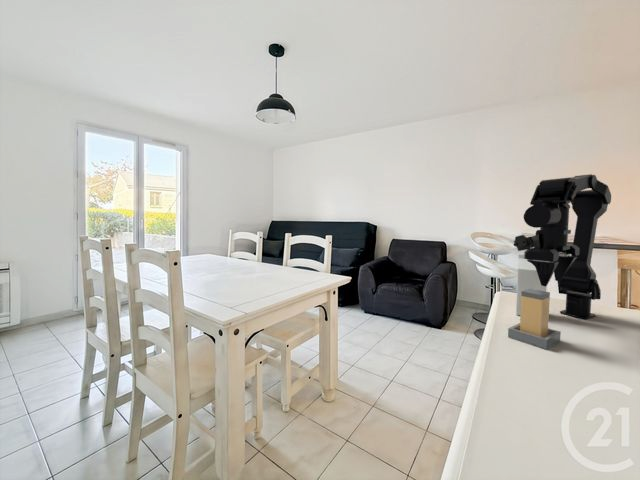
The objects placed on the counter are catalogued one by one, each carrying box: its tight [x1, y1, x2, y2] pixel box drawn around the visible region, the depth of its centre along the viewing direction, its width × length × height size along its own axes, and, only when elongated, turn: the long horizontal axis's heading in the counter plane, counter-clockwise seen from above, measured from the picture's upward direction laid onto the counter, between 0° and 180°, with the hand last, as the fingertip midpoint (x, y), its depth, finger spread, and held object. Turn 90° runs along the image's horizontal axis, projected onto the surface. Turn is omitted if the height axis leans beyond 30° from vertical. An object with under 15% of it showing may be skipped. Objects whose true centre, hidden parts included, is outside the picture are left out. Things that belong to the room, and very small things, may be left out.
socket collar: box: [507, 322, 561, 350], centre depth 70 cm, size 8×8×2 cm
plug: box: [519, 289, 551, 338], centre depth 70 cm, size 4×4×12 cm
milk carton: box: [515, 254, 547, 317], centre depth 86 cm, size 7×7×19 cm
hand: (551, 283), depth 75 cm, fingers open, 9 cm apart
